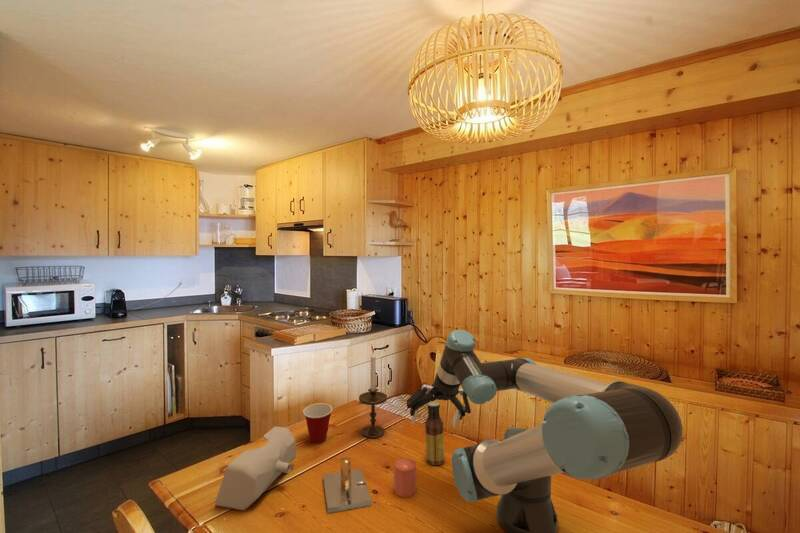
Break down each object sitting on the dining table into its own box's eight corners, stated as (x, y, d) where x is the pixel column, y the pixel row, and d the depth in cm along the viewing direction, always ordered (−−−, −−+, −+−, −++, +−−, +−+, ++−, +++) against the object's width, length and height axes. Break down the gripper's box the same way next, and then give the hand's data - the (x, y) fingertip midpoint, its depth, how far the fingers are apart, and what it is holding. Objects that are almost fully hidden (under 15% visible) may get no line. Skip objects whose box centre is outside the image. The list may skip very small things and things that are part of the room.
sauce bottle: (444, 456, 130) (444, 400, 129) (444, 467, 124) (445, 407, 123) (425, 455, 130) (425, 399, 130) (424, 466, 124) (424, 406, 124)
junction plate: (372, 506, 104) (372, 472, 104) (327, 514, 101) (327, 480, 101) (362, 472, 120) (362, 443, 120) (323, 479, 117) (323, 449, 117)
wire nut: (418, 494, 110) (418, 467, 109) (397, 498, 108) (397, 471, 108) (411, 482, 116) (412, 456, 115) (392, 485, 114) (392, 459, 114)
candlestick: (357, 439, 142) (357, 347, 140) (361, 426, 152) (361, 340, 151) (385, 440, 141) (386, 347, 140) (387, 427, 152) (388, 341, 151)
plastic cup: (298, 446, 136) (298, 414, 136) (309, 432, 147) (309, 402, 147) (327, 448, 135) (327, 415, 134) (336, 434, 146) (336, 403, 145)
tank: (265, 517, 100) (264, 471, 100) (213, 507, 104) (212, 463, 103) (308, 465, 125) (308, 428, 124) (265, 459, 128) (264, 423, 128)
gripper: (486, 370, 115) (468, 415, 125) (406, 362, 112) (394, 409, 122) (493, 390, 108) (473, 436, 119) (408, 382, 105) (395, 430, 116)
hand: (433, 422), depth 121 cm, fingers open, 13 cm apart
